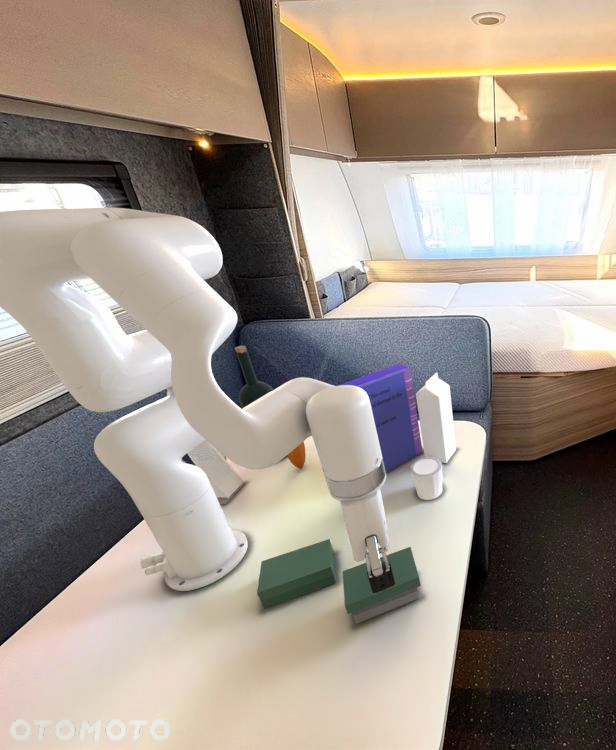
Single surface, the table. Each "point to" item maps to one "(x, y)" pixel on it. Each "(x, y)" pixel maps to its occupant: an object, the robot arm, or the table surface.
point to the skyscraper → (216, 470)
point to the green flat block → (362, 595)
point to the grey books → (385, 605)
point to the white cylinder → (427, 477)
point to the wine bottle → (250, 380)
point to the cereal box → (393, 413)
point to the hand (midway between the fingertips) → (379, 561)
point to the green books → (296, 573)
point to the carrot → (298, 456)
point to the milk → (436, 419)
